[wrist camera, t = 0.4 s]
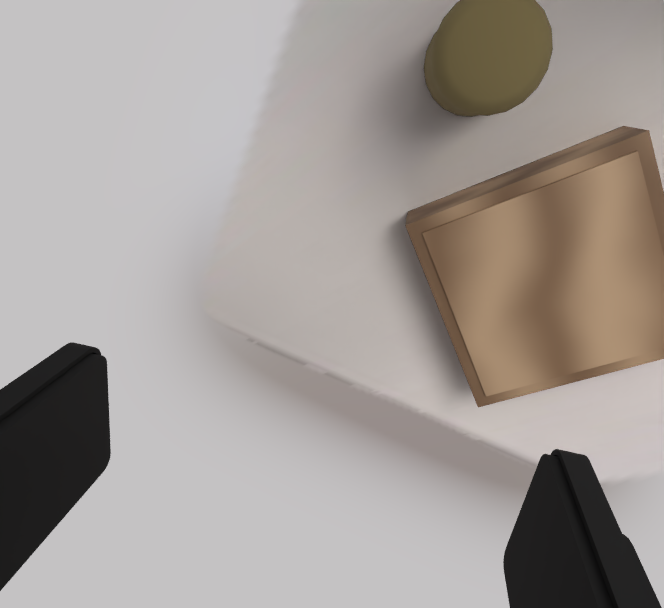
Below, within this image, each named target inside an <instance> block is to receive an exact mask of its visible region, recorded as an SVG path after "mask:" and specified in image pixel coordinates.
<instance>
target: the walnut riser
mask: <svg viewBox="0 0 664 608" xmlns="http://www.w3.org/2000/svg"><path fill="white" fill-rule="evenodd" d="M405 226H406V228H407V231H408V233H409V236H410V238H411V241H412V243H413V246H414V248H415V251H416V253H417V256H418V258H419V261H420V263H421V266H422V268H423V271H424V273H425V276H426V278H427V281H428V283H429V286H430V288H431V291H432V293H433V296H434V298H435V301H436V303H437V306H438V308H439V311H440V313H441V316H442V318H443V321H444V323H445V326H446V328H447V331H448V333H449V336H450V338H451V341H452V343H453V346H454V348H455V351H456V353H457V356H458V358H459V361H460V363H461V366H462V368H463V371H464V373H465V376H466V378H467V381H468V383H469V386H470V388H471V391H472V393H473V396H474V398H475V401H476V403H477V406H478V407H481V406H485V405H489V404H493V403H496V402H500V401H504V400H508V399H512V398H515V397H519V396H523V395H527V394H531V393H535V392H538V391H542V390H546V389H550V388H554V387H557V386H561V385H565V384H569V383H573V382H576V381H580V380H584V379H588V378H592V377H596V376H599V375H603V374H607V373H611V372H615V371H618V370H622V369H626V368H630V367H634V366H638V365H641V364H645V363H649V362H653V361H657V360H660V359H664V192H663V188H662V183H661V179H660V175H659V171H658V166H657V162H656V158H655V154H654V150H653V145H652V141H651V137H650V133H649V130H643V129H638V128H632V127H626V126H622V127H620V128H617V129H615V130H612V131H610V132H607V133H605V134H602V135H600V136H597V137H594V138H592V139H589V140H587V141H584V142H582V143H579V144H577V145H574V146H572V147H569V148H567V149H564V150H562V151H559V152H557V153H554V154H552V155H549V156H547V157H544V158H542V159H539V160H537V161H534V162H532V163H529V164H527V165H524V166H522V167H519V168H517V169H514V170H512V171H509V172H506V173H504V174H501V175H499V176H496V177H494V178H491V179H489V180H486V181H484V182H481V183H479V184H476V185H474V186H471V187H469V188H466V189H464V190H461V191H459V192H456V193H454V194H451V195H449V196H446V197H444V198H441V199H439V200H436V201H434V202H431V203H429V204H426V205H424V206H421V207H419V208H416V209H413V210H411V211H408V214H407V219H406V225H405Z"/></svg>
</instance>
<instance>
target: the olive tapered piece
mask: <svg viewBox="0 0 664 608" xmlns="http://www.w3.org/2000/svg"><path fill="white" fill-rule="evenodd" d="M552 50H553V48H552V30H551V26H550V24H549V21H548V19H547V16H546V14H545V11H544V10H543V8H542V7H541V6H540V5H539V4H538V3H537V2H536V1H535V0H460V1H459V2H457V3H456V4H455V6H454V7H453V8H452V9H451V10H450V11H449V13H448V14H447V15H446V16H445V17H444V18H443V20H442V22H441V25H440V27H439V29H438V31H437V32H436V33H435V34H434V36H433V38H432V40H431V42H430V44H429V47H428V49H427V51H426V57H425V63H424V73H425V80H426V85H427V87H428V89H429V91H430V93H431V95H432V98H433V99H434V100H435V101H436V102H437V103H438V104H439V105H440V106H441V107H442V108H443V109H445V110H447V111H449V112H451V113H453V114H456V115H462V116H470V117H472V116H477V115H485V116H488V115H493V114H498V113H503V112H506V111H508V110H510V109H512V108H513V107H515V106H517V105H519V104H521V103H522V102H524V101H525V100H526V99H527V98H528V97H529V96H530V95H531V94H532V93H533V92H534V91H535V90H536V89H537V87H538V86H539V84H540V82H541V80H542V79H543V77H544V75H545V73H546V72H547V70H548V66H549V62H550V58H551V54H552Z"/></svg>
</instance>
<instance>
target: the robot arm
mask: <svg viewBox="0 0 664 608" xmlns="http://www.w3.org/2000/svg"><path fill="white" fill-rule="evenodd" d="M109 459H110V428H109V403H108V378H107V361H106V358H105V357H104V356H101V353H100V351H99V349H97V348H95V347H91V346H86V345H81V344H77V343H68V344H66V345H65V346H63V347H62V348H60V349H59V350H57V351H56V352H55V353H53V354H52V355H50V356H49V357H47V358H46V359H44V360H43V361H41V362H40V363H39V364H37V365H36V366H34V367H33V368H31V369H30V370H28V371H27V372H26V373H24V374H23V375H21V376H20V377H18V378H17V379H15V380H14V381H12V382H11V383H9V384H8V385H7V386H5V387H4V388H2V389H1V390H0V591H1V589H2V588H3V587H4V586H5V585H6V584H7V582H8V581H9V580H10V579H11V578H12V577H13V576H14V574H15V573H16V572H17V571H18V570H19V569H20V567H21V566H22V565H23V564H24V563H25V562H26V561H27V559H28V558H29V557H30V556H31V555H32V553H33V552H34V551H35V550H36V549H37V548H38V547H39V545H40V544H41V543H42V542H43V541H44V540H45V539H46V537H47V536H48V535H49V534H50V533H51V531H52V530H53V529H54V528H55V527H56V526H57V524H58V523H59V522H60V521H61V520H62V519H63V518H64V517H65V515H66V514H67V513H68V512H69V511H70V510H71V508H72V507H73V506H74V505H75V503H77V501H78V500H79V499H80V498H81V497H82V496H83V495H84V493H85V492H86V491H87V490H88V489H89V488H90V486H91V485H92V484H93V483H94V482H95V481H96V479H97V478H98V477H99V476H100V475H101V474H102V472H103V471H104V470H105V469H106V467H107V465H108V462H109ZM504 573H505V580H506V586H507V592H508V598H509V604H510V608H661V606H660V603H659V601H658V599H657V597H656V595H655V592H654V591H653V588H652V586H651V584H650V582H649V579H648V577H647V575H646V573H645V571H644V569H643V566H642V564H641V562H640V560H639V558H638V555H637V553H636V551H635V549H634V547H633V545H632V543H631V542H630V540H629V538H627V537H626V536H625V535H624V534H622V532H621V530H620V528H619V526H618V524H617V521H616V519H615V517H614V515H613V512H612V510H611V508H610V506H609V503H608V501H607V499H606V497H605V494H604V492H603V490H602V488H601V485H600V483H599V481H598V479H597V476H596V474H595V472H594V470H593V467H592V465H591V463H590V461H589V459H588V457H587V456H585V455H581V454H577V453H572V452H568V451H563V450H559V449H555V450H554V451H553V452H552V453H551V455H547V454H543V455H542V457H541V459H540V461H539V463H538V466H537V469H536V471H535V474H534V476H533V479H532V482H531V484H530V487H529V490H528V492H527V495H526V498H525V500H524V503H523V505H522V508H521V510H520V513H519V516H518V518H517V521H516V524H515V526H514V529H513V531H512V534H511V536H510V539H509V542H508V544H507V547H506V550H505V555H504Z"/></svg>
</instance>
